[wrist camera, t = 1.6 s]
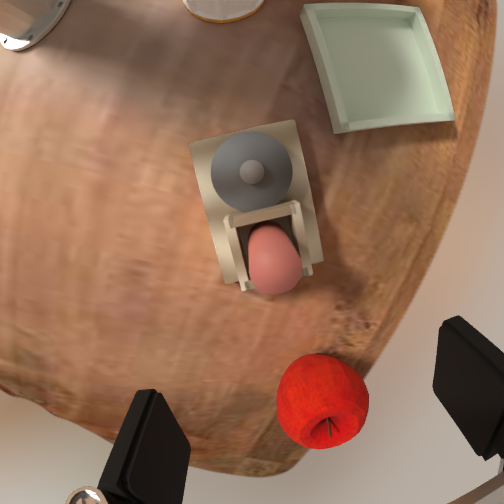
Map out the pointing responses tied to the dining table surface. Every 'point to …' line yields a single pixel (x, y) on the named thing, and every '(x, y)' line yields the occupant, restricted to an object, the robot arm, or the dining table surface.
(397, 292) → the dining table surface
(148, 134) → the dining table surface
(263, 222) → the pin
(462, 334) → the robot arm
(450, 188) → the dining table surface
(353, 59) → the tray
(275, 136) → the beige dial holder
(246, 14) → the cup
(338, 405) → the apple
